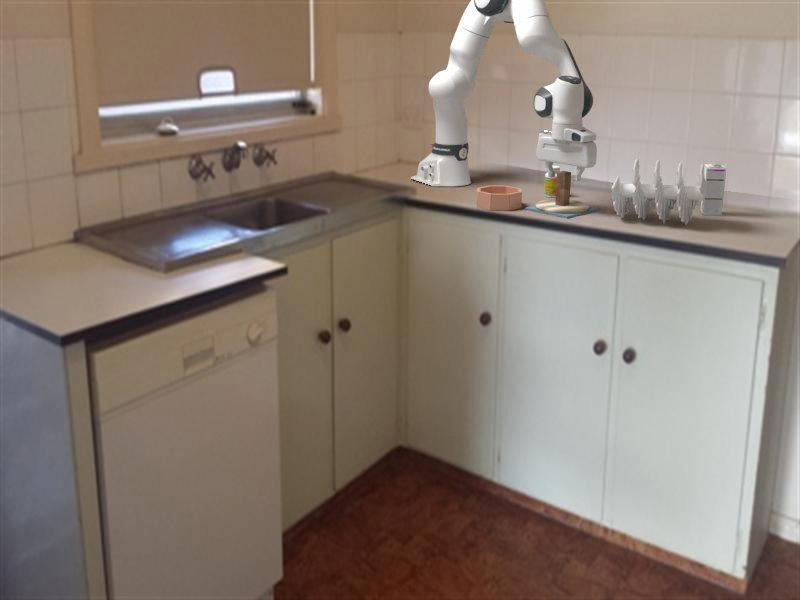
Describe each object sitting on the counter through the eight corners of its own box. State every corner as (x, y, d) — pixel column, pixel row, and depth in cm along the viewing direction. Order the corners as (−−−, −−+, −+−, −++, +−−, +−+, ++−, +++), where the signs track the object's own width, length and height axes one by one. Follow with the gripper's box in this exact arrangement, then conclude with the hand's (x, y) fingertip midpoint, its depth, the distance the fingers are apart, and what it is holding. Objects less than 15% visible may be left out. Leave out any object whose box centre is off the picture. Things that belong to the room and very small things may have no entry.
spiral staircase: (617, 226, 262) (703, 231, 251) (605, 212, 246) (697, 216, 235) (624, 168, 264) (711, 170, 253) (613, 150, 248) (704, 151, 237)
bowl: (467, 205, 272) (468, 189, 270) (496, 199, 280) (497, 183, 279) (500, 212, 262) (501, 196, 260) (529, 206, 271) (530, 190, 269)
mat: (525, 209, 266) (525, 207, 266) (557, 202, 276) (557, 200, 276) (567, 218, 255) (567, 216, 255) (599, 210, 265) (599, 208, 265)
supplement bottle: (541, 196, 284) (543, 167, 281) (546, 193, 288) (548, 164, 285) (557, 198, 282) (559, 168, 278) (562, 195, 286) (564, 166, 283)
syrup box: (722, 216, 257) (727, 167, 253) (701, 215, 259) (706, 166, 254) (719, 211, 263) (724, 164, 258) (698, 211, 264) (704, 163, 259)
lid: (524, 207, 266) (526, 171, 262) (557, 200, 276) (559, 165, 273) (566, 216, 255) (569, 179, 251) (599, 208, 265) (602, 172, 261)
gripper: (532, 130, 263) (530, 175, 268) (588, 137, 249) (584, 184, 253) (545, 128, 267) (543, 172, 272) (601, 135, 253) (597, 182, 257)
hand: (563, 178), depth 262 cm, fingers open, 8 cm apart
